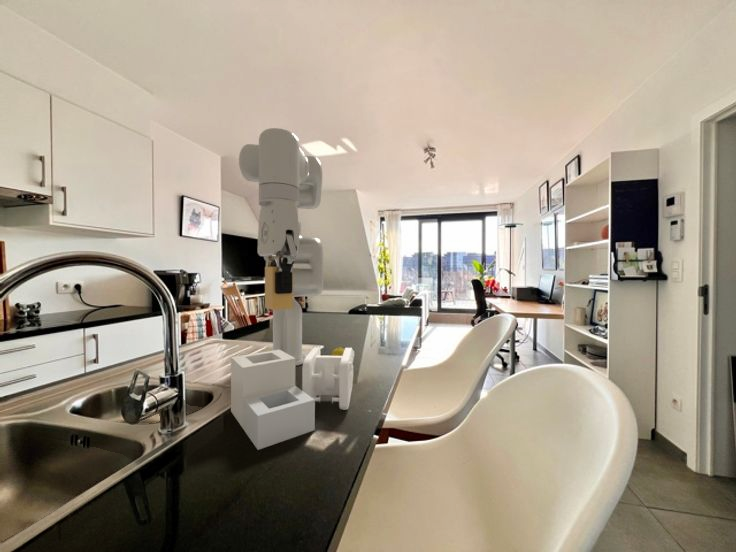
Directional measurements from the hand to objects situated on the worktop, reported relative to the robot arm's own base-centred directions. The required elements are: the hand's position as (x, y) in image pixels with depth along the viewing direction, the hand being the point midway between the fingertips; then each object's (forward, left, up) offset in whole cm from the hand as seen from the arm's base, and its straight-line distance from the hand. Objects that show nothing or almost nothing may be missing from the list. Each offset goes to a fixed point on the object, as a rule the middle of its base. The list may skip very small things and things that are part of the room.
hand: (278, 291), depth 59 cm
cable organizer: (-6, +15, -27) cm, 32 cm away
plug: (0, 0, -3) cm, 3 cm away
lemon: (-21, +27, -27) cm, 44 cm away
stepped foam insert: (-5, 0, -27) cm, 27 cm away
